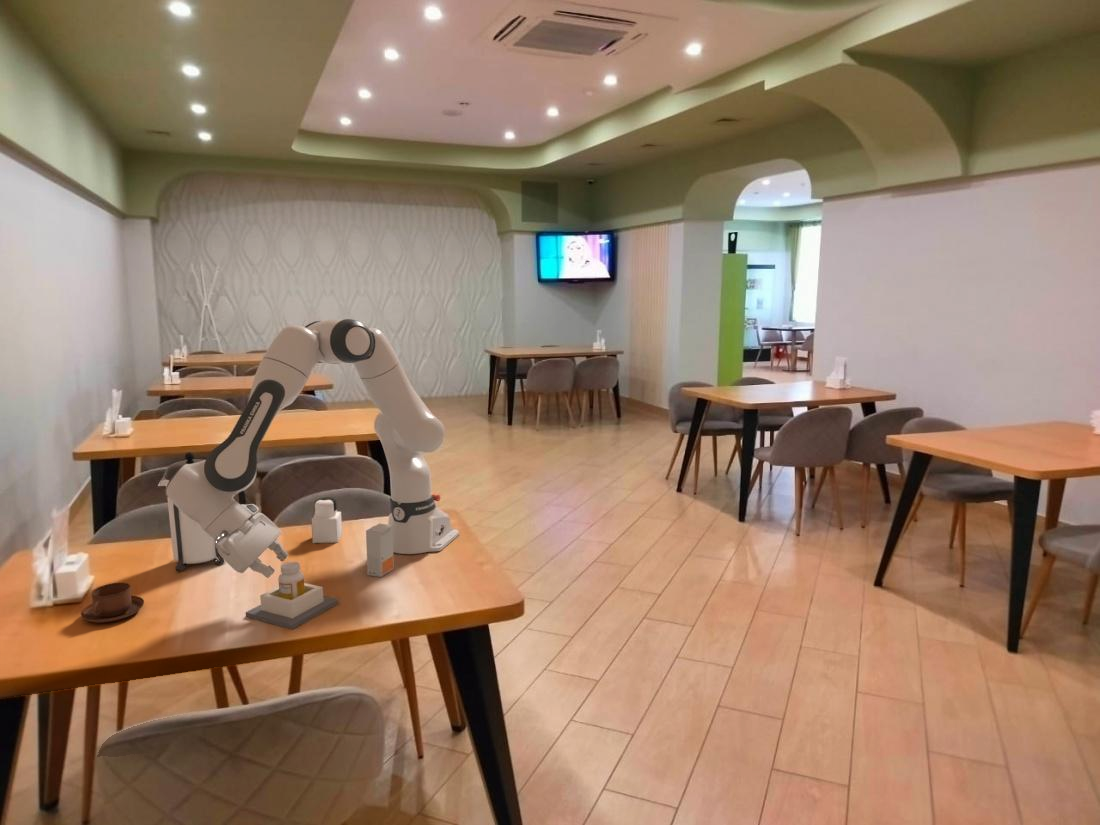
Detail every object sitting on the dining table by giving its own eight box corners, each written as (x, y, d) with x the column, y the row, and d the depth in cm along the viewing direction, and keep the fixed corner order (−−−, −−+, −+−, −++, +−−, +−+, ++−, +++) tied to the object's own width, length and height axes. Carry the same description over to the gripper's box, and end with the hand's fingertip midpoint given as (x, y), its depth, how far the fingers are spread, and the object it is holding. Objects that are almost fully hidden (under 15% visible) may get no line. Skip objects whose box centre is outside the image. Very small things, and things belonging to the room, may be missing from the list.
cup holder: (293, 592, 170) (292, 574, 169) (338, 603, 164) (337, 585, 163) (245, 616, 158) (244, 597, 157) (292, 629, 152) (291, 609, 151)
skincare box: (381, 577, 179) (379, 532, 177) (367, 575, 180) (365, 530, 178) (394, 568, 184) (393, 524, 182) (380, 566, 186) (378, 522, 184)
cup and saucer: (136, 623, 155) (134, 596, 154) (74, 631, 152) (70, 603, 151) (150, 600, 166) (147, 575, 165) (92, 607, 163) (89, 581, 162)
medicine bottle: (317, 535, 210) (315, 495, 208) (342, 534, 211) (340, 495, 209) (312, 543, 203) (309, 503, 201) (337, 542, 204) (335, 502, 202)
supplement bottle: (302, 598, 165) (299, 558, 163) (308, 606, 160) (305, 566, 158) (278, 604, 162) (274, 563, 160) (283, 612, 157) (280, 571, 156)
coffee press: (201, 576, 180) (191, 461, 175) (154, 568, 185) (142, 456, 180) (251, 552, 196) (243, 446, 191) (207, 545, 201) (197, 442, 196)
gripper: (221, 530, 146) (272, 575, 148) (257, 501, 166) (301, 540, 169) (200, 551, 147) (252, 595, 149) (239, 520, 167) (284, 559, 169)
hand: (278, 566), depth 159 cm, fingers open, 8 cm apart
